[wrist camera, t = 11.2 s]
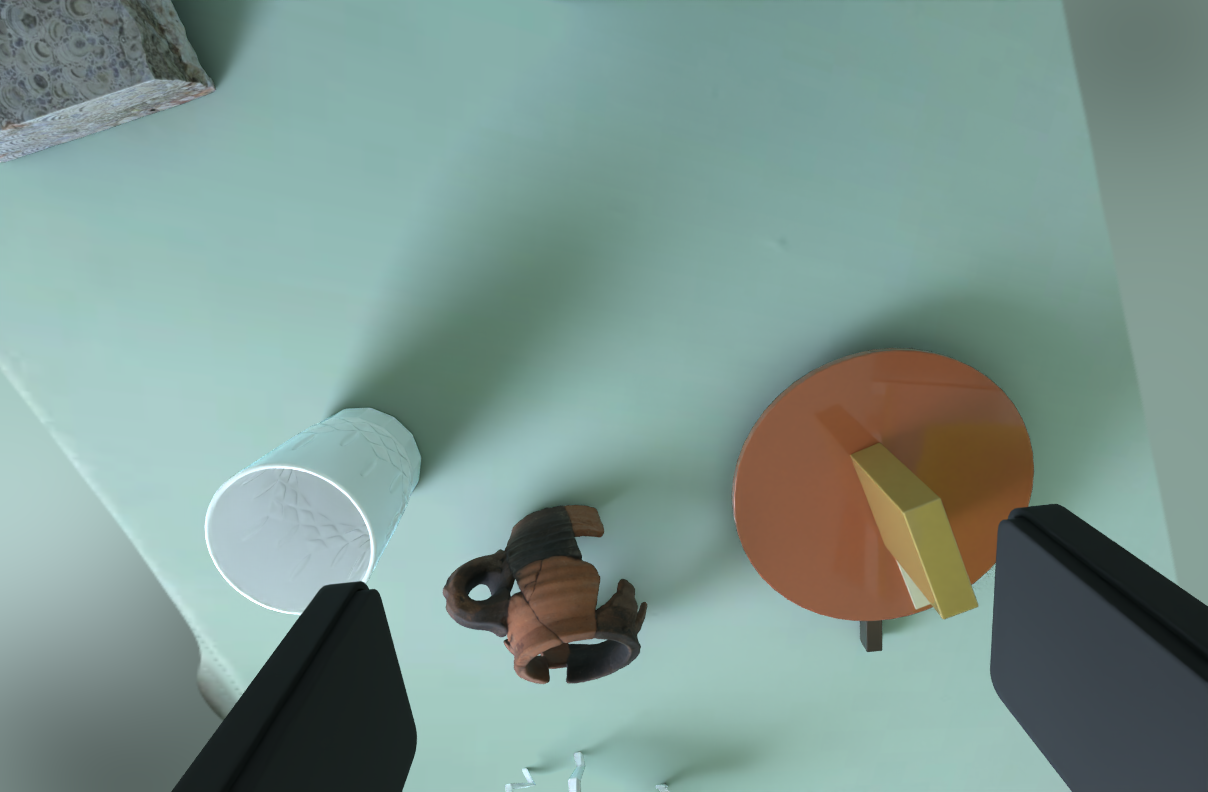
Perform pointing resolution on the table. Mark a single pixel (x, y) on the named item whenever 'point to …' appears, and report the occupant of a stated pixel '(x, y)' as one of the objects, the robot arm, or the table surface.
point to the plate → (827, 496)
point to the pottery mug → (549, 599)
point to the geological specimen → (89, 68)
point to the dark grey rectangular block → (871, 635)
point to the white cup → (314, 509)
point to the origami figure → (573, 780)
